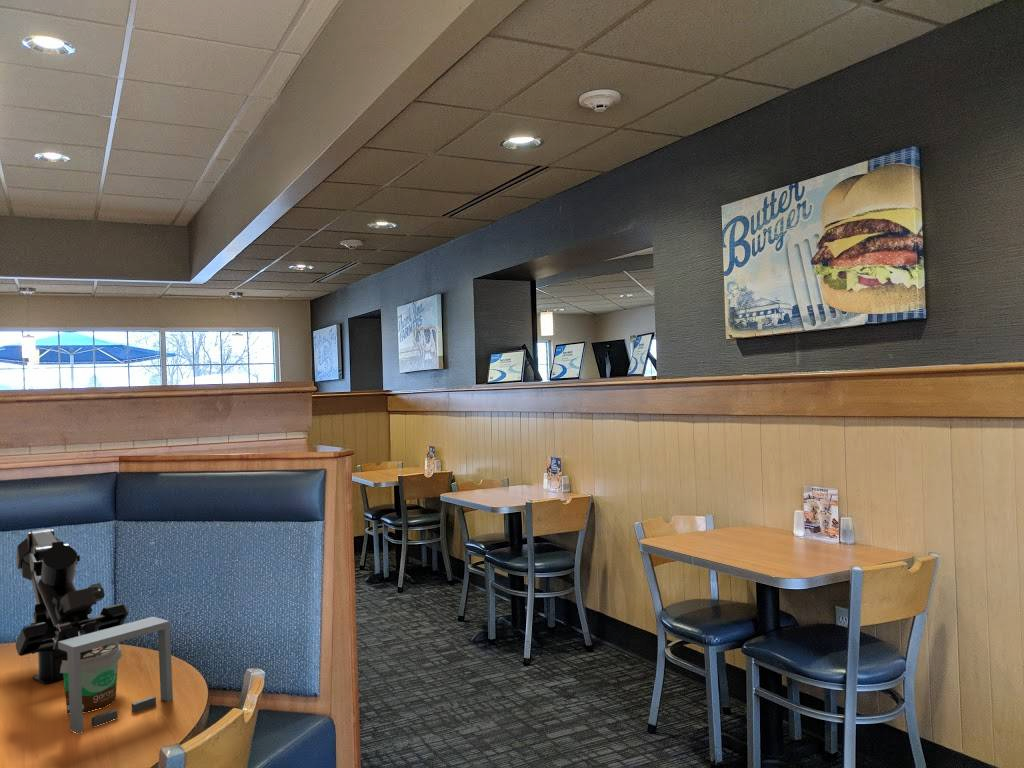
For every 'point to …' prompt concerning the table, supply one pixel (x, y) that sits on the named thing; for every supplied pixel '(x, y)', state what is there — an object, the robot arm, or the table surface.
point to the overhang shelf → (109, 637)
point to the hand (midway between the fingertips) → (89, 664)
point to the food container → (96, 677)
